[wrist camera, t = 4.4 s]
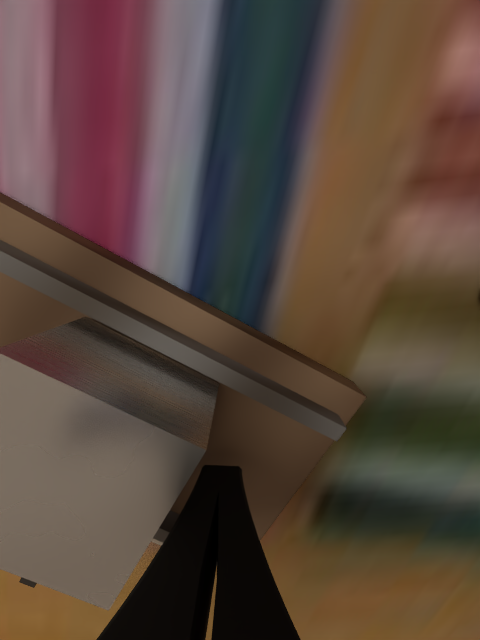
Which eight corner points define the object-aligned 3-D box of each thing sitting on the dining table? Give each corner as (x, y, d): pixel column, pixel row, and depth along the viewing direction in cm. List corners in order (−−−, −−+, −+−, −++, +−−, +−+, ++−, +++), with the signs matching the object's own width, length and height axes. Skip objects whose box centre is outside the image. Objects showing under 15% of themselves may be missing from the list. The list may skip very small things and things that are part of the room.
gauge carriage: (219, 383, 9) (206, 450, 6) (128, 539, 11) (81, 655, 8) (68, 307, 8) (-36, 336, 5) (-2, 485, 10) (-111, 586, 7)
